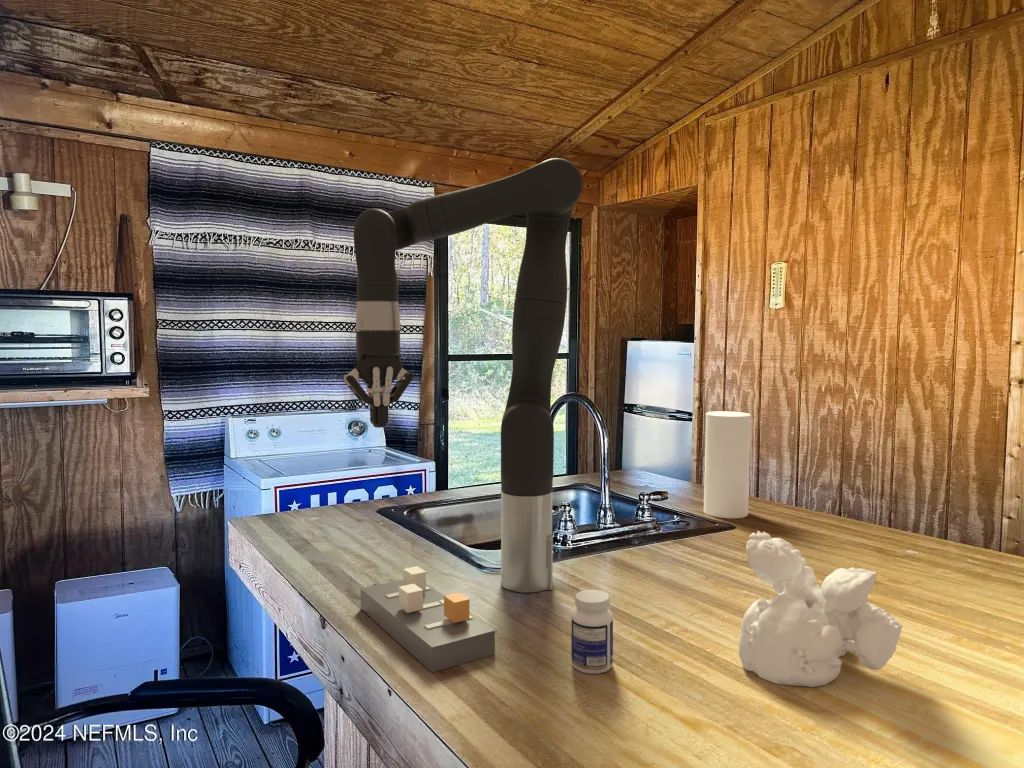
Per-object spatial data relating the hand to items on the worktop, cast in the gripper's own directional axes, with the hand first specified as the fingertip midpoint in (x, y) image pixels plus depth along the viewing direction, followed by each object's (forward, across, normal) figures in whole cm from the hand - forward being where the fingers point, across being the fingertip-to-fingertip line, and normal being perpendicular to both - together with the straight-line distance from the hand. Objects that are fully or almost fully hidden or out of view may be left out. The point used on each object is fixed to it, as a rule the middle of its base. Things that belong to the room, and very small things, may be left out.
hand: (379, 426), depth 127 cm
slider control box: (+29, +2, +17) cm, 34 cm away
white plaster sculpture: (+29, -39, +60) cm, 77 cm away
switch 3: (+25, 0, +27) cm, 37 cm away
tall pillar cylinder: (+29, -93, -1) cm, 97 cm away
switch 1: (+25, 0, +13) cm, 28 cm away
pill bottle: (+29, -13, +44) cm, 54 cm away
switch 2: (+25, +4, +20) cm, 32 cm away
